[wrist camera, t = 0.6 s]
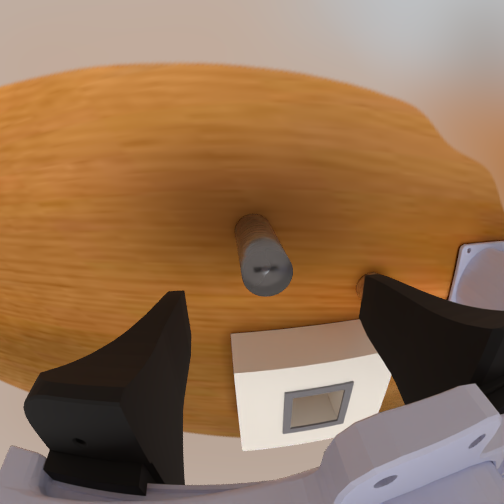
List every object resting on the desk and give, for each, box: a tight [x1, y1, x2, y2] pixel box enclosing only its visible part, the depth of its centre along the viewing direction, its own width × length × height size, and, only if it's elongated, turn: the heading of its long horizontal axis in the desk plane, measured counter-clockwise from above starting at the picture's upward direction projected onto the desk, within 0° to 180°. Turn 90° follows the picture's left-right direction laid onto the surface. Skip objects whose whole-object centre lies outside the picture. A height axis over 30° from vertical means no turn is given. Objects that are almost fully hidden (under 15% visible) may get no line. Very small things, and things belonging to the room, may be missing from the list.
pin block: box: [231, 319, 391, 451], centre depth 24 cm, size 12×10×5 cm
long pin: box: [235, 214, 293, 296], centre depth 18 cm, size 2×2×6 cm
